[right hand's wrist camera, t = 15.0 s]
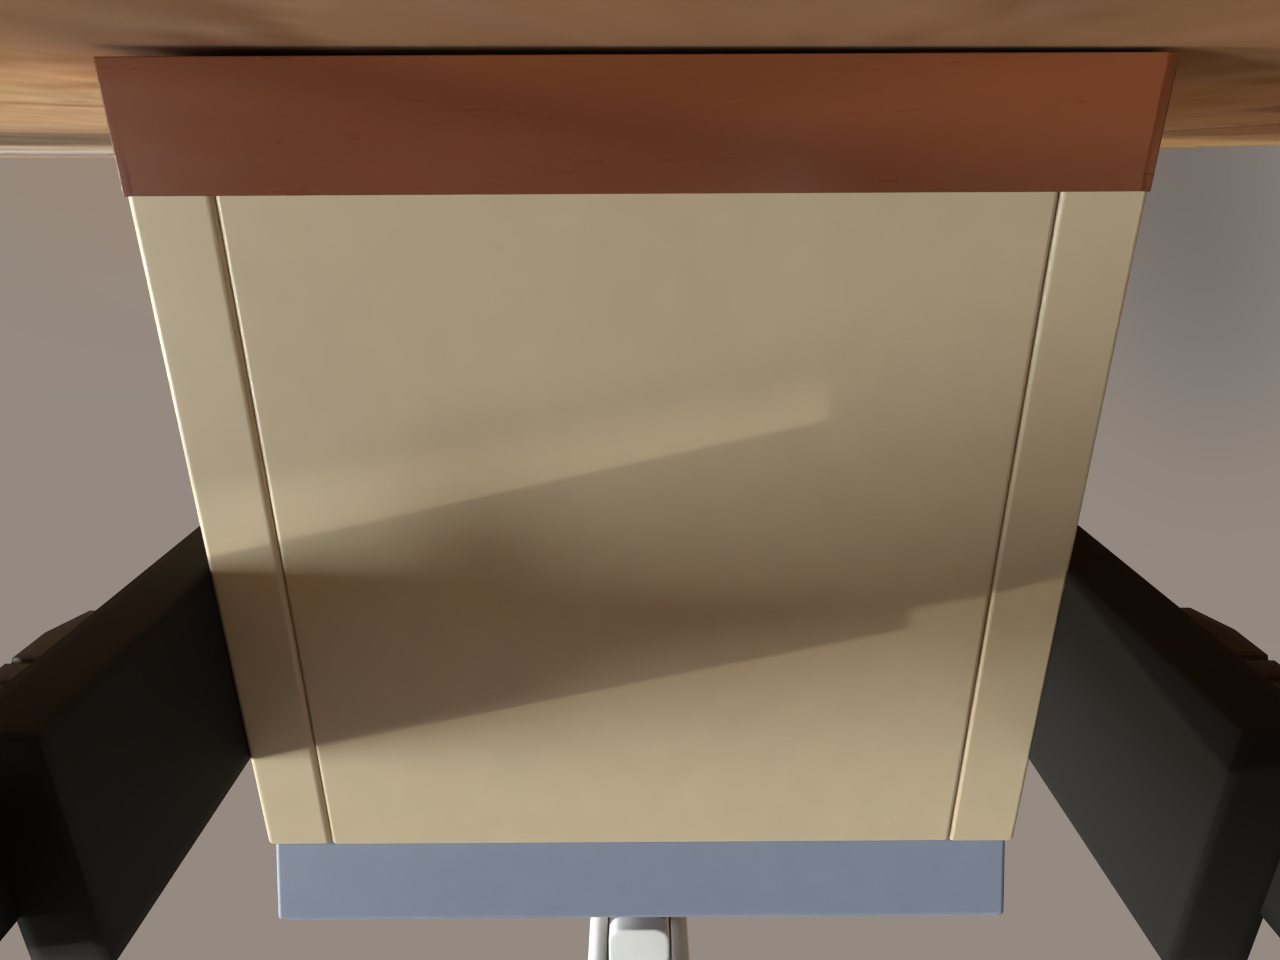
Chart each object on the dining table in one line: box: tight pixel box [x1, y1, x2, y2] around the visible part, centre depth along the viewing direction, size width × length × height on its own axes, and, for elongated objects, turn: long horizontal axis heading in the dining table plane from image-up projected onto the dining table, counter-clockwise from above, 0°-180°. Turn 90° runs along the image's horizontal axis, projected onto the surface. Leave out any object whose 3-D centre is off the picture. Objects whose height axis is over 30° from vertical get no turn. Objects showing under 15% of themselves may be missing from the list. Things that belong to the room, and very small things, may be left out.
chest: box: [93, 52, 1179, 844], centre depth 17 cm, size 16×10×10 cm, turn 0°
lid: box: [277, 836, 1005, 919], centre depth 20 cm, size 17×10×9 cm, turn 1°
